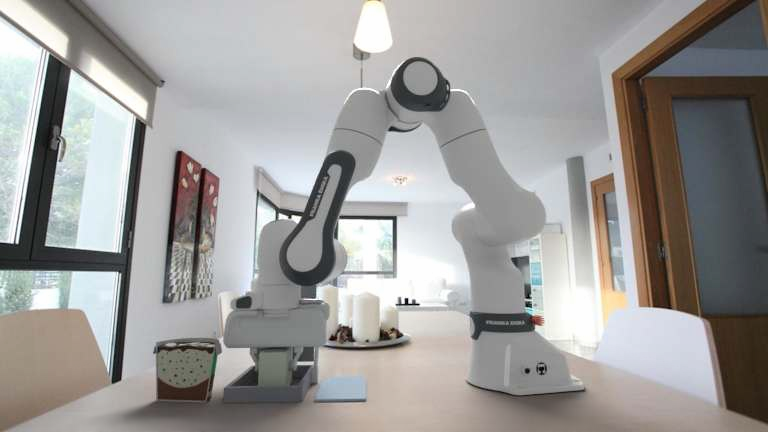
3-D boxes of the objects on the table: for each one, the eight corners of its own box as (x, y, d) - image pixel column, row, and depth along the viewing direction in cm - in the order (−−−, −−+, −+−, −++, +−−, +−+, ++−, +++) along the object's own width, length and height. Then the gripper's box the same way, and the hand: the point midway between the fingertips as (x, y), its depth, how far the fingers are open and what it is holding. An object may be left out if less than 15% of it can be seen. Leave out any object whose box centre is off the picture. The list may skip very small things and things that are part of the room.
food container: (231, 392, 72) (235, 337, 74) (214, 402, 66) (218, 343, 68) (170, 390, 74) (175, 336, 75) (148, 400, 68) (153, 342, 69)
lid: (313, 361, 84) (314, 360, 85) (316, 284, 88) (317, 285, 89) (253, 362, 83) (255, 361, 84) (258, 284, 87) (260, 285, 88)
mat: (365, 378, 82) (365, 376, 82) (366, 400, 67) (366, 398, 67) (323, 378, 82) (323, 376, 82) (314, 401, 67) (314, 399, 67)
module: (292, 381, 78) (292, 344, 80) (284, 391, 72) (285, 350, 73) (267, 381, 78) (268, 344, 79) (257, 392, 71) (259, 351, 72)
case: (320, 375, 84) (322, 314, 86) (308, 401, 67) (311, 324, 69) (252, 376, 84) (255, 314, 86) (222, 403, 66) (227, 324, 68)
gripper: (331, 297, 81) (330, 365, 79) (233, 298, 80) (230, 367, 78) (328, 299, 75) (327, 373, 73) (222, 300, 74) (218, 375, 72)
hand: (276, 370), depth 75 cm, fingers closed on module, 5 cm apart
